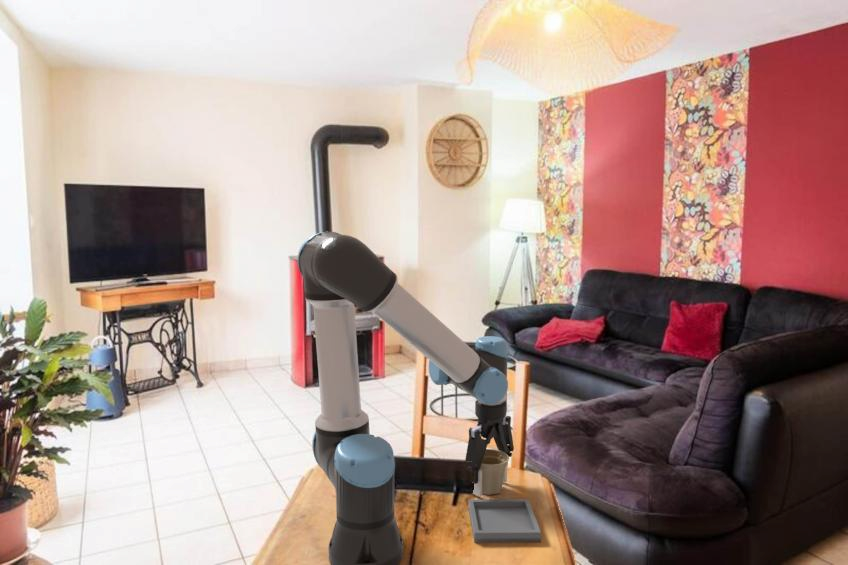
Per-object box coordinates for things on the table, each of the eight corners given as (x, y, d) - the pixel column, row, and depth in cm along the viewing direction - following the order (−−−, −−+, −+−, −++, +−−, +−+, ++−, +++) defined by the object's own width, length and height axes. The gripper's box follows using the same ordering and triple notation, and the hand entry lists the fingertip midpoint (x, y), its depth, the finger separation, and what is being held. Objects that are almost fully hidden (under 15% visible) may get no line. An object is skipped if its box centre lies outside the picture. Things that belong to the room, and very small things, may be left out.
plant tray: (474, 542, 128) (474, 532, 128) (468, 508, 142) (468, 499, 142) (540, 542, 128) (540, 532, 128) (528, 508, 142) (528, 499, 142)
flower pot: (507, 481, 155) (508, 449, 154) (509, 499, 146) (509, 465, 145) (470, 479, 156) (471, 447, 155) (469, 497, 147) (470, 463, 146)
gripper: (473, 416, 138) (472, 508, 141) (529, 393, 153) (527, 477, 156) (449, 407, 143) (448, 497, 146) (505, 386, 158) (503, 468, 162)
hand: (489, 487), depth 151 cm, fingers open, 9 cm apart
